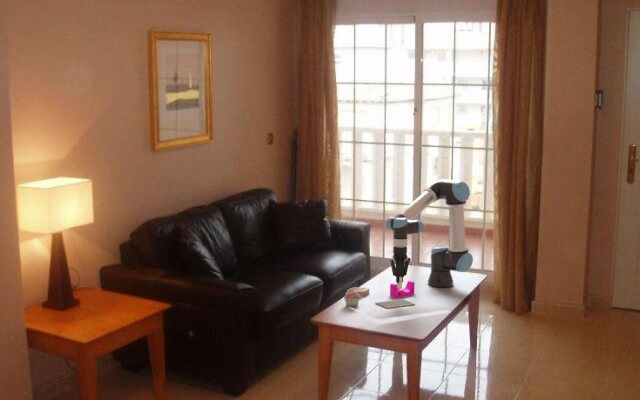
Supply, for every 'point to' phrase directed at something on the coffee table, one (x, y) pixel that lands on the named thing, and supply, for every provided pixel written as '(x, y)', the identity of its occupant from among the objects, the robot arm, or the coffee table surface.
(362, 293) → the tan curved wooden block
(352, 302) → the cupcake
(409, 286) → the toy block
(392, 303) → the mat
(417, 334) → the coffee table surface
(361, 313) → the coffee table surface
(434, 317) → the coffee table surface
